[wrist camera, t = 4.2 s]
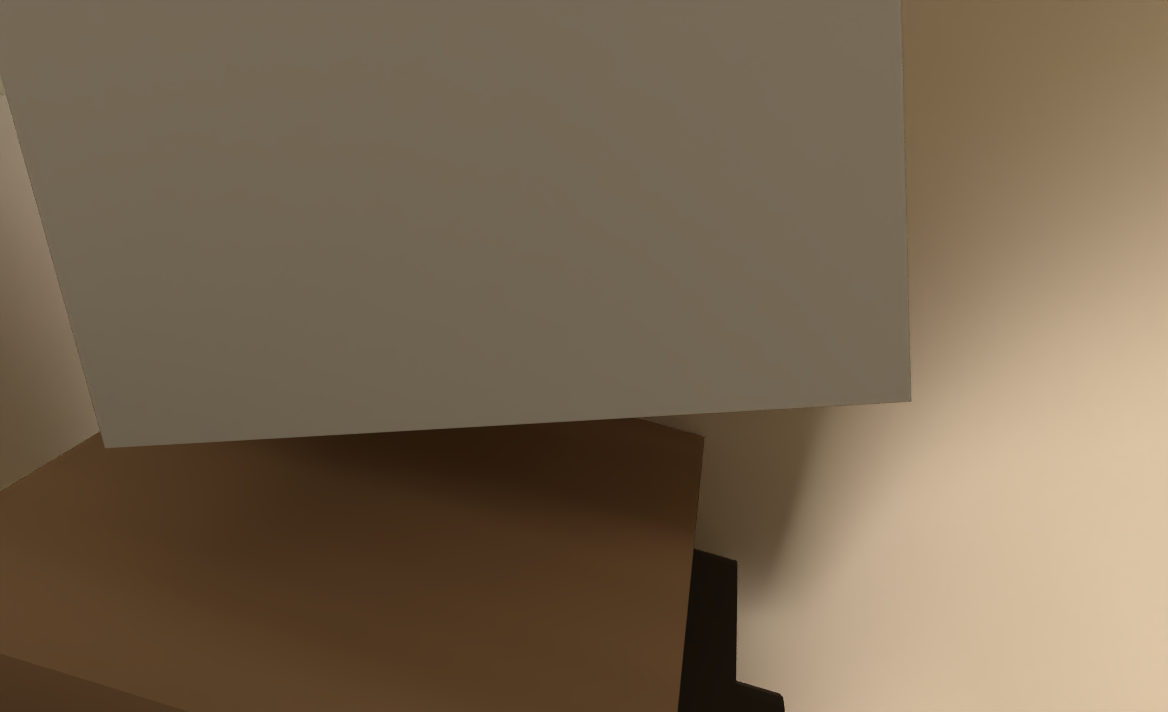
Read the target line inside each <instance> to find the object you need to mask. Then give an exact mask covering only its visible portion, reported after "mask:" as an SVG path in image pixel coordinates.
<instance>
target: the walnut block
mask: <svg viewBox="0 0 1168 712" xmlns="http://www.w3.org/2000/svg"><path fill="white" fill-rule="evenodd" d="M703 448H704V437H703V436H699V435H695V434H692V433H688V432H684V431H681V430H677V429H674V428H670V427H666V426H663V425H659V424H655V423H652V422H648V421H645V420H641V419H637V418H618V419H601V420H584V421H567V422H549V423H532V424H515V425H498V426H480V427H463V428H446V429H429V430H411V431H394V432H377V433H359V434H342V435H325V436H308V437H290V438H273V439H256V440H239V441H221V442H204V443H187V444H169V445H152V446H135V447H118V448H105V446H104V443H103V439H102V436H101V432H99V433H97V434H95V435H94V436H92V437H90V438H89V439H87V440H86V441H84V442H82V443H81V444H79V445H77V446H76V447H74V448H72V449H71V450H69V451H67V452H66V453H64V454H62V455H61V456H59V457H57V458H56V459H54V460H52V461H51V462H49V463H47V464H46V465H44V466H42V467H41V468H39V469H37V470H36V471H34V472H33V473H31V474H29V475H28V476H26V477H24V478H23V479H21V480H19V481H18V482H16V483H14V484H13V485H11V486H9V487H8V488H6V489H4V490H3V491H1V492H0V712H677V711H678V701H679V691H680V681H681V671H682V661H683V650H684V640H685V630H686V620H687V610H688V600H689V590H690V579H691V569H692V559H693V549H694V539H695V529H696V519H697V508H698V498H699V488H700V478H701V468H702V458H703Z"/></svg>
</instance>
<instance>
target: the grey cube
mask: <svg viewBox="0 0 1168 712" xmlns="http://www.w3.org/2000/svg"><path fill="white" fill-rule="evenodd" d="M0 75H1V78H2V82H3V86H4V89H5V93H6V96H7V100H8V103H9V107H10V111H11V114H12V118H13V121H14V125H15V128H16V132H17V136H18V139H19V143H20V146H21V150H22V153H23V157H24V161H25V164H26V168H27V171H28V175H29V178H30V182H31V186H32V189H33V193H34V196H35V200H36V203H37V207H38V211H39V214H40V218H41V221H42V225H43V228H44V232H45V236H46V239H47V243H48V246H49V250H50V253H51V257H52V261H53V264H54V268H55V271H56V275H57V278H58V282H59V286H60V289H61V293H62V296H63V300H64V303H65V307H66V311H67V314H68V318H69V321H70V325H71V328H72V332H73V336H74V339H75V343H76V346H77V350H78V353H79V357H80V361H81V364H82V368H83V371H84V375H85V378H86V382H87V386H88V389H89V393H90V396H91V400H92V403H93V407H94V411H95V414H96V418H97V421H98V425H99V428H100V432H101V436H102V439H103V443H104V446H105V448H118V447H135V446H152V445H169V444H187V443H204V442H221V441H239V440H256V439H273V438H290V437H308V436H325V435H342V434H359V433H377V432H394V431H411V430H429V429H446V428H463V427H480V426H498V425H515V424H532V423H549V422H567V421H584V420H601V419H618V418H636V417H653V416H670V415H688V414H705V413H722V412H739V411H757V410H774V409H791V408H808V407H826V406H843V405H860V404H878V403H895V402H911V370H910V330H909V289H908V249H907V208H906V168H905V127H904V87H903V46H902V6H901V0H0Z"/></svg>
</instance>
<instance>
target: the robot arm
mask: <svg viewBox="0 0 1168 712" xmlns="http://www.w3.org/2000/svg"><path fill="white" fill-rule="evenodd" d="M736 645H737V561H735V560H732V559H728V558H725V557H721V556H718V555H714V554H711V553H707V552H704V551H700V550H696V549H693V559H692V569H691V579H690V590H689V600H688V610H687V620H686V630H685V640H684V650H683V661H682V671H681V681H680V691H679V701H678V711H677V712H785V708H784V701H783V697H782V696H781V695H780V694H779V693H776V692H772V691H769V690H766V689H762V688H759V687H755V686H752V685H748V684H745V683H742V682H738V681H736Z"/></svg>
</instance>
